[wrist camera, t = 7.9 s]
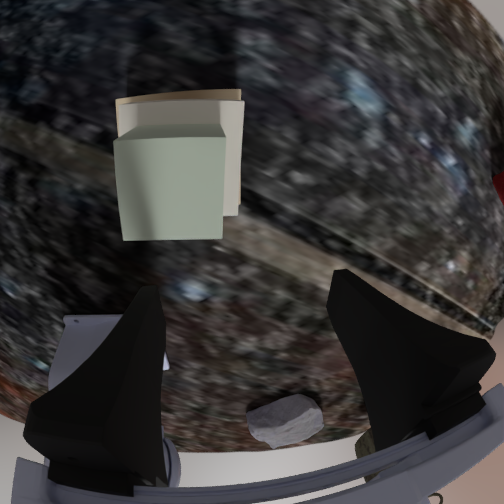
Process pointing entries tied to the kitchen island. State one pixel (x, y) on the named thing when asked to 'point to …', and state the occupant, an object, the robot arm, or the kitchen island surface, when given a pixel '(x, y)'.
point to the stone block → (285, 420)
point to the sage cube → (171, 181)
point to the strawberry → (499, 185)
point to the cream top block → (196, 113)
